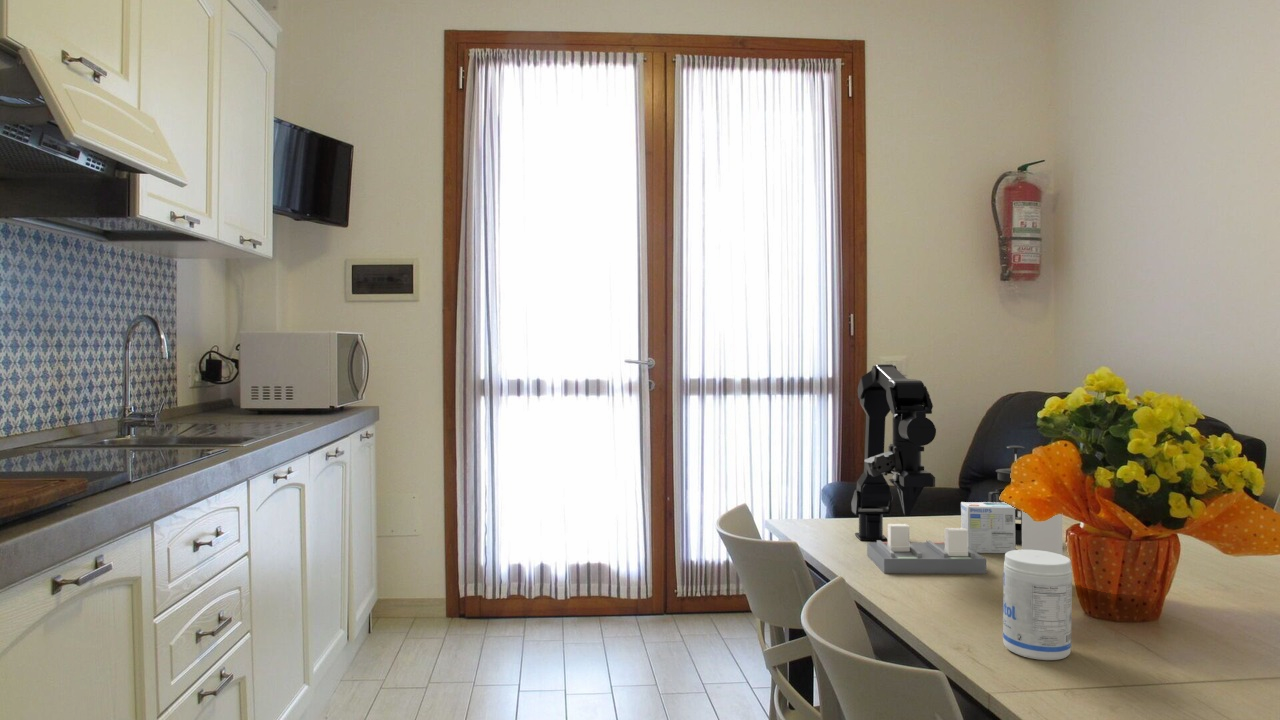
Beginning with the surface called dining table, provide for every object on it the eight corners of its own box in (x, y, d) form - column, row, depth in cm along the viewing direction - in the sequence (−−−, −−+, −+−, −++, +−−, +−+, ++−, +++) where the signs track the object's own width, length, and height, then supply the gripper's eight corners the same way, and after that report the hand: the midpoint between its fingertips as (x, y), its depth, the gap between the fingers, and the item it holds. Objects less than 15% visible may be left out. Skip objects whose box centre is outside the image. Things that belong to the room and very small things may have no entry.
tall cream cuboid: (944, 552, 178) (944, 527, 178) (963, 552, 178) (963, 527, 178) (948, 556, 175) (948, 530, 175) (968, 556, 175) (968, 530, 175)
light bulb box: (1006, 547, 196) (1006, 501, 196) (1016, 554, 189) (1016, 506, 189) (959, 546, 197) (959, 501, 197) (968, 553, 190) (968, 506, 190)
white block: (887, 548, 182) (887, 523, 182) (905, 548, 182) (905, 523, 182) (891, 551, 179) (891, 526, 179) (909, 551, 179) (909, 526, 179)
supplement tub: (992, 640, 133) (992, 548, 133) (1051, 639, 134) (1051, 548, 133) (1021, 663, 124) (1021, 564, 123) (1084, 662, 124) (1084, 563, 124)
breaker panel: (867, 555, 188) (867, 538, 188) (961, 555, 188) (961, 538, 188) (884, 573, 173) (884, 555, 173) (986, 573, 173) (986, 555, 173)
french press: (1027, 535, 208) (1027, 443, 207) (1047, 544, 198) (1047, 447, 198) (981, 536, 207) (981, 444, 207) (999, 545, 198) (999, 448, 197)
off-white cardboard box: (1061, 581, 167) (1061, 486, 166) (1062, 590, 160) (1062, 492, 160) (1022, 577, 170) (1022, 484, 169) (1021, 586, 163) (1021, 489, 163)
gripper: (857, 436, 184) (858, 506, 184) (879, 445, 165) (879, 524, 165) (908, 435, 183) (909, 506, 183) (936, 445, 165) (936, 524, 165)
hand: (907, 514), depth 174 cm, fingers closed
